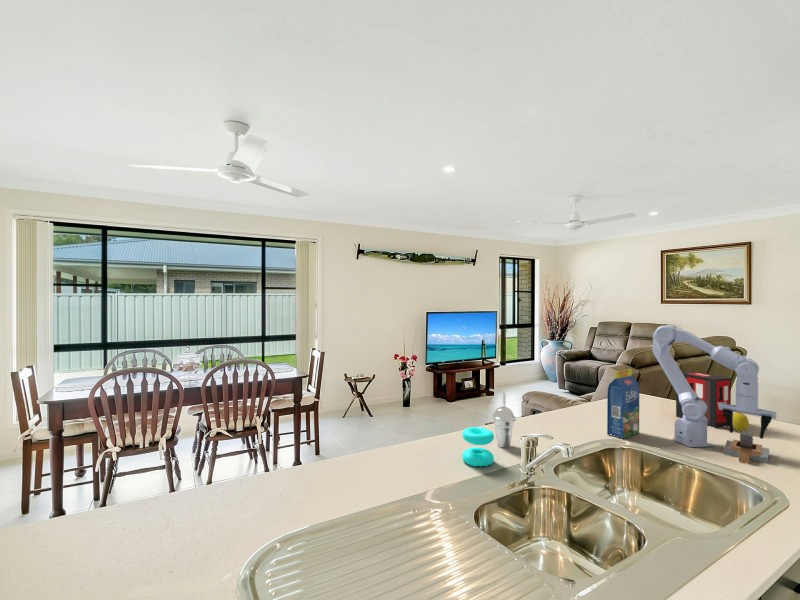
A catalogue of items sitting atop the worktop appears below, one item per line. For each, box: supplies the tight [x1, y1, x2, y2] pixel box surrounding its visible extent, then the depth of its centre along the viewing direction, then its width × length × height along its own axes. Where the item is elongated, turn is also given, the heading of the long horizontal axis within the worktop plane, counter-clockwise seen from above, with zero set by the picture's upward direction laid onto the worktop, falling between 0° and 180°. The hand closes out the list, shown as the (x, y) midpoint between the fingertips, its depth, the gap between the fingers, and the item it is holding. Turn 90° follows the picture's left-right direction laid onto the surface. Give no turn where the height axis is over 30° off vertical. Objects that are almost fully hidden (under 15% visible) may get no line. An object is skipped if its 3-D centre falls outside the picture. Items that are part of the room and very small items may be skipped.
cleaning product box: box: [675, 370, 732, 429], centre depth 169 cm, size 16×9×20 cm, turn 17°
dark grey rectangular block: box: [739, 431, 754, 449], centre depth 133 cm, size 4×3×7 cm
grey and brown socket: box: [723, 439, 770, 465], centre depth 131 cm, size 16×11×3 cm
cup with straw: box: [489, 388, 517, 448], centre depth 140 cm, size 8×9×20 cm
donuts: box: [461, 426, 495, 468], centre depth 126 cm, size 10×10×10 cm
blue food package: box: [606, 368, 640, 439], centre depth 152 cm, size 6×12×25 cm, turn 123°
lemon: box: [733, 412, 750, 433], centre depth 155 cm, size 6×6×8 cm
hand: (746, 435), depth 133 cm, fingers open, 7 cm apart
